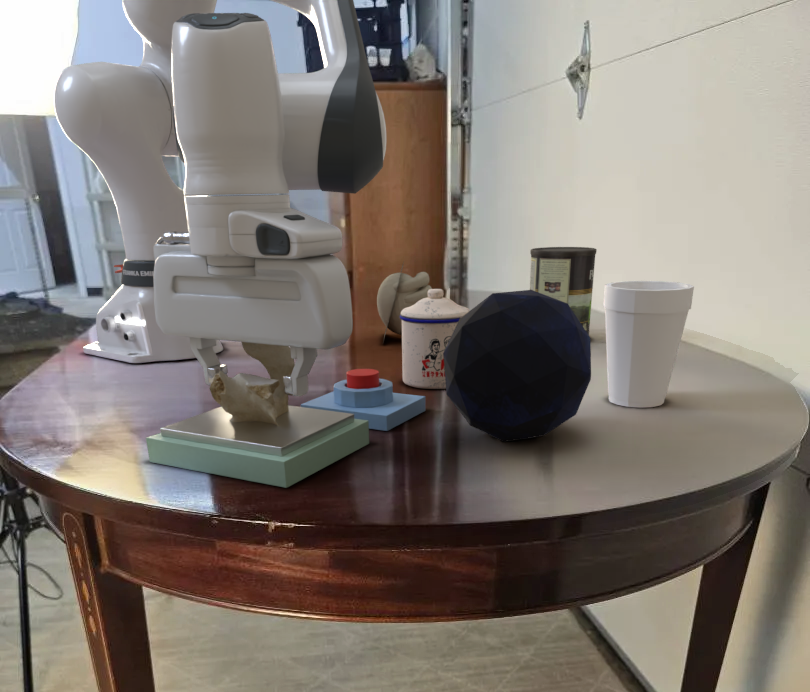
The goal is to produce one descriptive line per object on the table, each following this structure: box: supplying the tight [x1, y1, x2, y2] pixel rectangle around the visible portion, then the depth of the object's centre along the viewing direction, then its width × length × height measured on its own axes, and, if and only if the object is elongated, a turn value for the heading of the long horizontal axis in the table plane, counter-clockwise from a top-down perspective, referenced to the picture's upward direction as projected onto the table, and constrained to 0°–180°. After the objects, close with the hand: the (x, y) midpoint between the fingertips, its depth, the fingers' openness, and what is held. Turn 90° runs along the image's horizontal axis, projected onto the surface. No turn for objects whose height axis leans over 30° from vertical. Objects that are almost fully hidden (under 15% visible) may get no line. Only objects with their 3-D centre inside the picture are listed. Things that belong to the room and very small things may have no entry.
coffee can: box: [529, 246, 597, 336], centre depth 125 cm, size 10×10×14 cm
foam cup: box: [602, 280, 695, 409], centre depth 88 cm, size 10×9×13 cm
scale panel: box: [300, 378, 426, 432], centre depth 87 cm, size 11×9×4 cm
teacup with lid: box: [400, 288, 471, 390], centre depth 100 cm, size 12×9×12 cm
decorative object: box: [376, 260, 433, 343], centre depth 128 cm, size 13×10×10 cm
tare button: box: [346, 368, 380, 389], centre depth 86 cm, size 4×4×2 cm
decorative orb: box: [443, 289, 592, 443], centre depth 76 cm, size 14×15×15 cm
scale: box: [145, 404, 370, 489], centre depth 75 cm, size 16×14×3 cm
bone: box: [209, 342, 295, 426], centre depth 73 cm, size 9×6×10 cm
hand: (256, 389), depth 73 cm, fingers open, 8 cm apart
